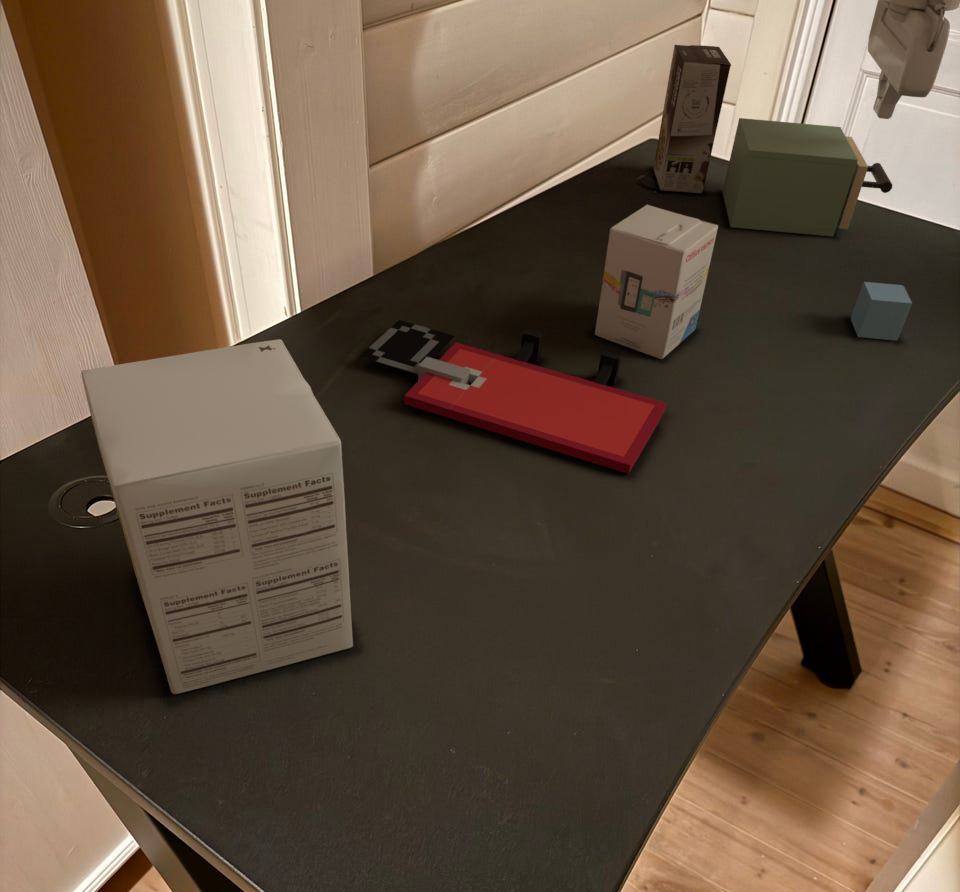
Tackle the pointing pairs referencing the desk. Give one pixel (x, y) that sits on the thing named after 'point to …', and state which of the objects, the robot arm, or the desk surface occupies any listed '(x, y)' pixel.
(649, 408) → the red board with handle
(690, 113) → the coffee box
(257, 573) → the supplement box
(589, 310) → the desk surface
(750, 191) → the cabinet
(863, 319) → the matte blue-grey cube
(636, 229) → the ink box
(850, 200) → the drawer
